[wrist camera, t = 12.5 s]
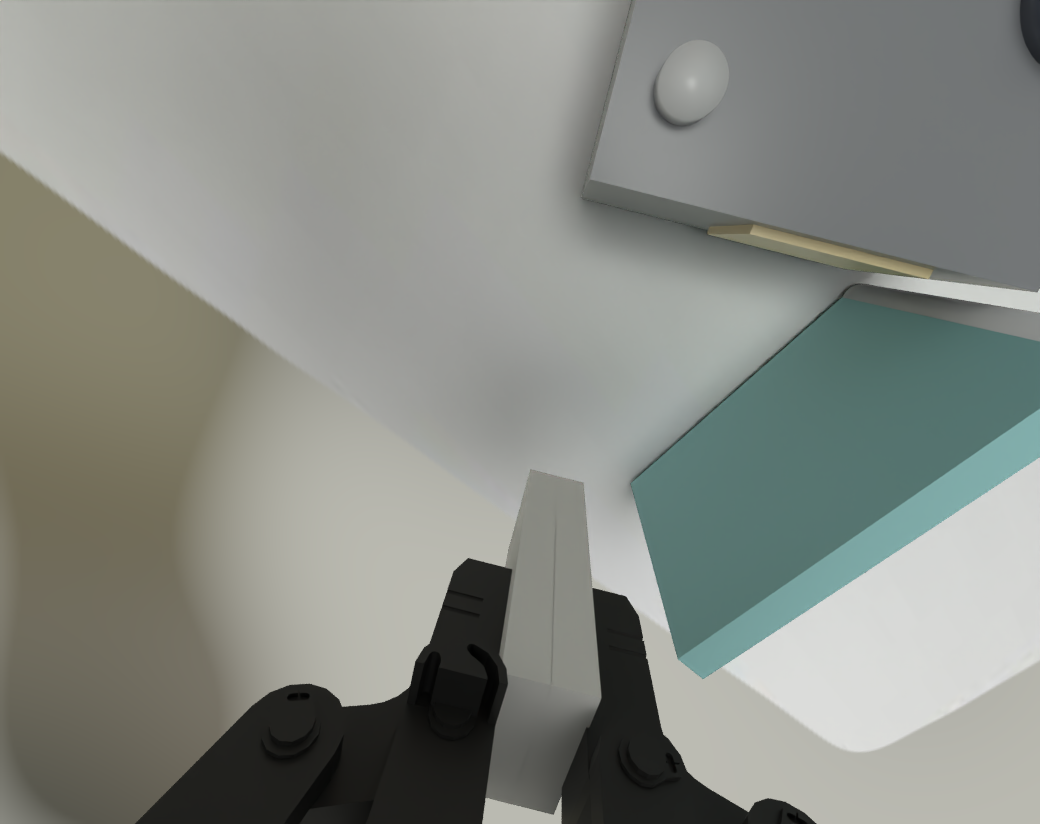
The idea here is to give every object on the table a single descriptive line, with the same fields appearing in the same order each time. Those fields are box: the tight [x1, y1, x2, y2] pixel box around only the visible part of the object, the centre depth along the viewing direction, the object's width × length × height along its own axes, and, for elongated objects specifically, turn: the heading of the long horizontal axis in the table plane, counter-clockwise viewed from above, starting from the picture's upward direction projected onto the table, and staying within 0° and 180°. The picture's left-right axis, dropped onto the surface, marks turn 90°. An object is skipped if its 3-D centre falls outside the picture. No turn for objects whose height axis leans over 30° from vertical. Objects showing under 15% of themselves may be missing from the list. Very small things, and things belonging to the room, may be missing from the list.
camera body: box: [581, 0, 1040, 292], centre depth 16 cm, size 11×14×9 cm
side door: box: [631, 284, 1040, 679], centre depth 19 cm, size 15×2×12 cm, turn 139°
